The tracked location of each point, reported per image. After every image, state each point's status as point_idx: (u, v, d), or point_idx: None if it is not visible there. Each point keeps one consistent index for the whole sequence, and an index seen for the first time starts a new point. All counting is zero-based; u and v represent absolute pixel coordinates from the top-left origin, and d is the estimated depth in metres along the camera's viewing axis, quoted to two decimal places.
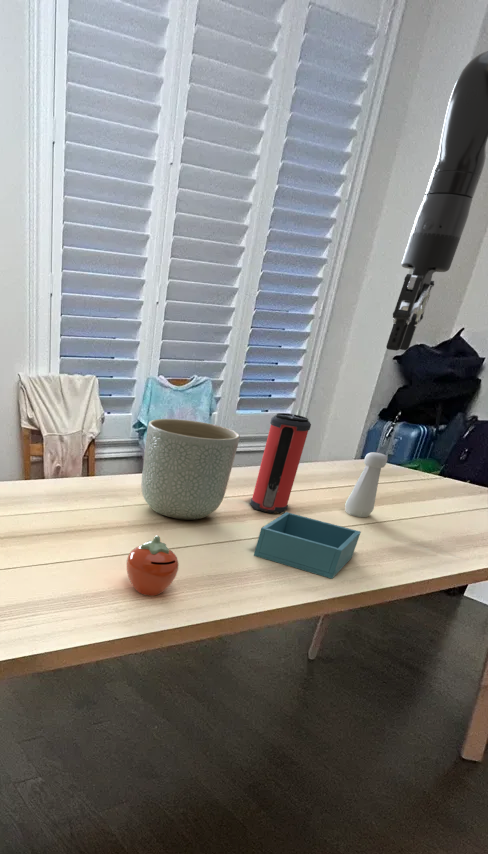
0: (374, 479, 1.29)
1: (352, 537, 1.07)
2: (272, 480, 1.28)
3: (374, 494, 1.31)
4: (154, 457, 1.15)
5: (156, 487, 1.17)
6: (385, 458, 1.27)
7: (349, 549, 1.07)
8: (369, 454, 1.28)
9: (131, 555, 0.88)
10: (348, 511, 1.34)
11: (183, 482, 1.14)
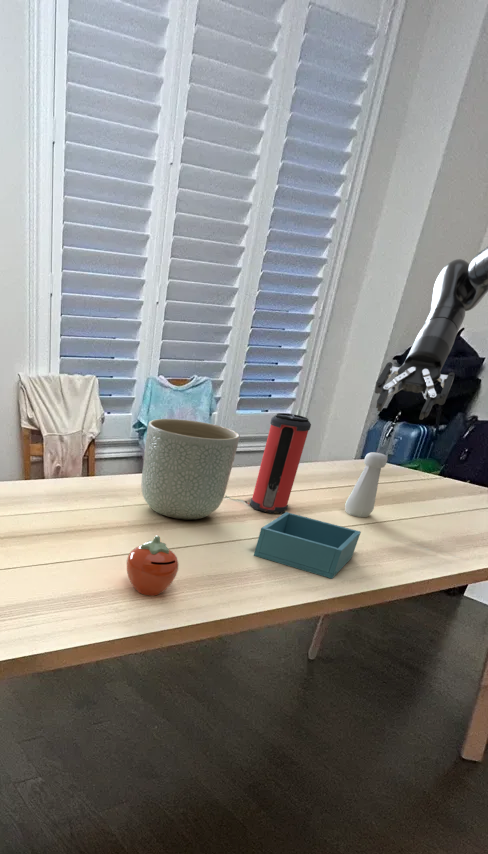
0: (374, 479, 1.29)
1: (352, 537, 1.07)
2: (272, 480, 1.28)
3: (374, 494, 1.31)
4: (154, 457, 1.15)
5: (156, 487, 1.17)
6: (385, 458, 1.27)
7: (349, 549, 1.07)
8: (369, 454, 1.28)
9: (131, 555, 0.88)
10: (348, 511, 1.34)
11: (183, 482, 1.14)
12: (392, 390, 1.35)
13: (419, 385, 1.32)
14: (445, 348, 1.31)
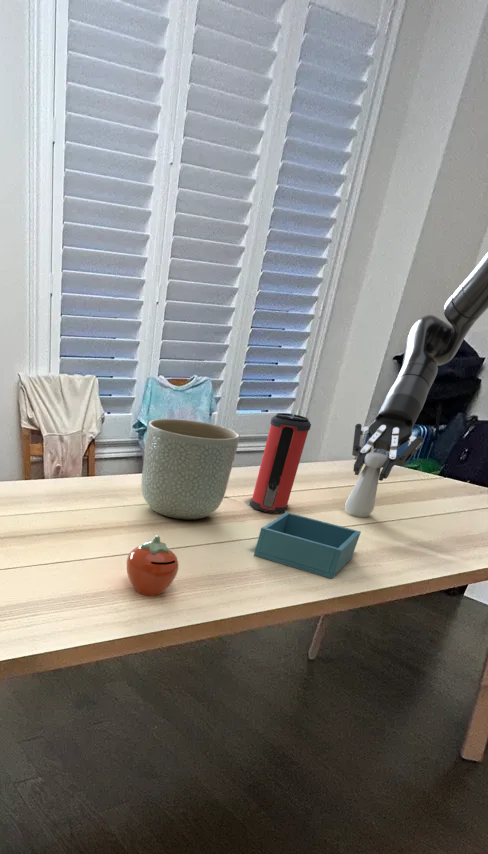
0: (374, 479, 1.29)
1: (352, 537, 1.07)
2: (272, 480, 1.28)
3: (374, 494, 1.31)
4: (154, 457, 1.15)
5: (156, 487, 1.17)
6: (385, 458, 1.27)
7: (349, 549, 1.07)
8: (369, 454, 1.28)
9: (131, 555, 0.88)
10: (348, 511, 1.34)
11: (183, 482, 1.14)
12: (368, 451, 1.31)
13: (390, 444, 1.28)
14: (416, 406, 1.27)
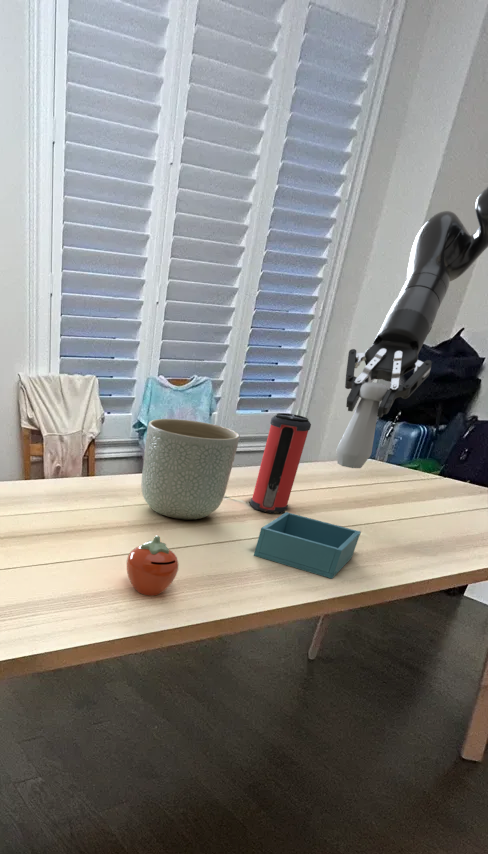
0: (372, 416, 1.06)
1: (352, 537, 1.07)
2: (272, 480, 1.28)
3: (372, 434, 1.07)
4: (154, 457, 1.15)
5: (156, 487, 1.17)
6: (385, 388, 1.03)
7: (349, 549, 1.07)
8: (365, 384, 1.04)
9: (131, 555, 0.88)
10: (340, 457, 1.10)
11: (183, 482, 1.14)
12: (365, 382, 1.07)
13: (391, 371, 1.05)
14: (423, 324, 1.04)
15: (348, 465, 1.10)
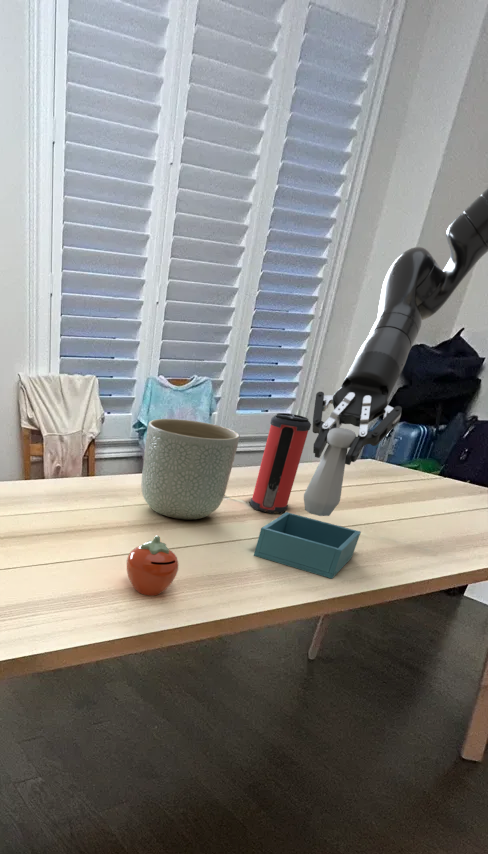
0: (340, 463, 1.00)
1: (352, 537, 1.07)
2: (272, 480, 1.28)
3: (340, 482, 1.02)
4: (154, 457, 1.15)
5: (156, 487, 1.17)
6: (352, 435, 0.98)
7: (349, 549, 1.07)
8: (332, 430, 0.99)
9: (131, 555, 0.88)
10: (307, 504, 1.05)
11: (183, 482, 1.14)
12: (333, 427, 1.02)
13: (359, 417, 0.99)
14: (394, 368, 0.98)
15: (315, 513, 1.05)
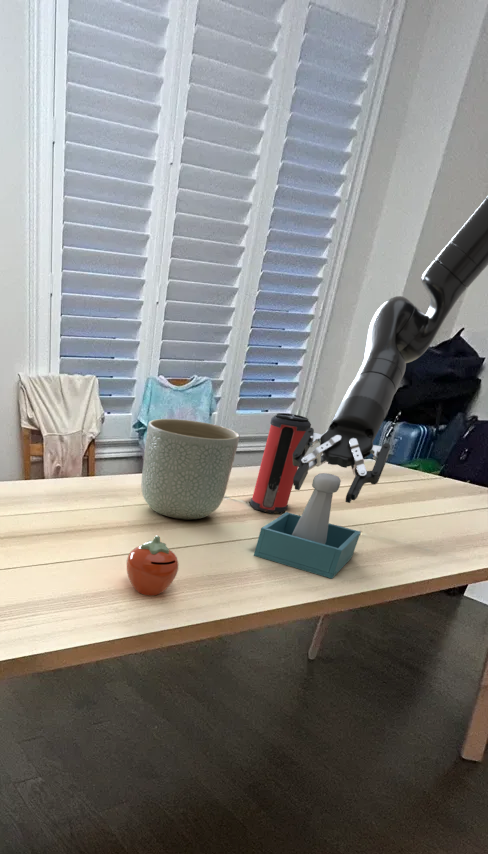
0: (325, 507, 1.04)
1: (352, 537, 1.07)
2: (272, 480, 1.28)
3: (326, 524, 1.06)
4: (154, 457, 1.15)
5: (156, 487, 1.17)
6: (337, 481, 1.02)
7: (349, 549, 1.07)
8: (318, 476, 1.03)
9: (131, 555, 0.88)
10: None
11: (183, 482, 1.14)
12: (314, 463, 1.06)
13: (346, 459, 1.03)
14: (378, 412, 1.02)
15: None
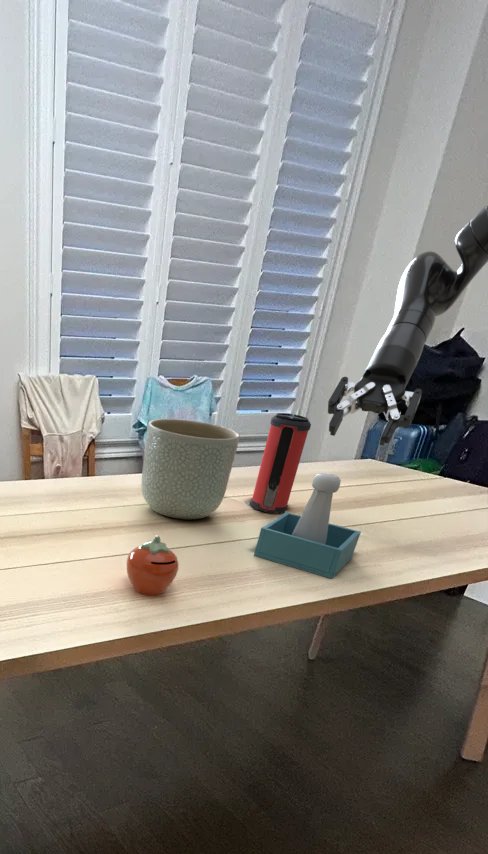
0: (325, 507, 1.04)
1: (352, 537, 1.07)
2: (272, 480, 1.28)
3: (326, 524, 1.06)
4: (154, 457, 1.15)
5: (156, 487, 1.17)
6: (337, 481, 1.02)
7: (349, 549, 1.07)
8: (318, 476, 1.03)
9: (131, 555, 0.88)
10: None
11: (183, 482, 1.14)
12: (348, 410, 1.12)
13: (379, 404, 1.09)
14: (410, 360, 1.08)
15: None
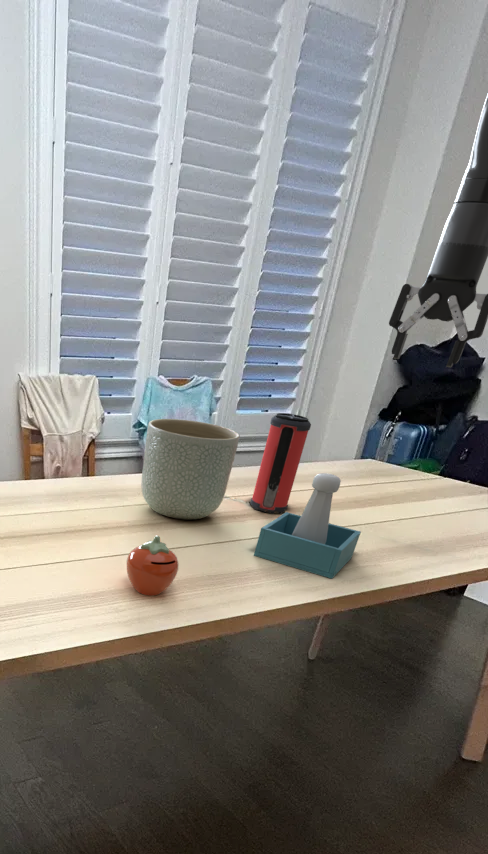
0: (325, 507, 1.04)
1: (352, 537, 1.07)
2: (272, 480, 1.28)
3: (326, 524, 1.06)
4: (154, 457, 1.15)
5: (156, 487, 1.17)
6: (337, 481, 1.02)
7: (349, 549, 1.07)
8: (318, 476, 1.03)
9: (131, 555, 0.88)
10: None
11: (183, 482, 1.14)
12: None
13: (445, 320, 1.02)
14: (480, 255, 0.96)
15: None
